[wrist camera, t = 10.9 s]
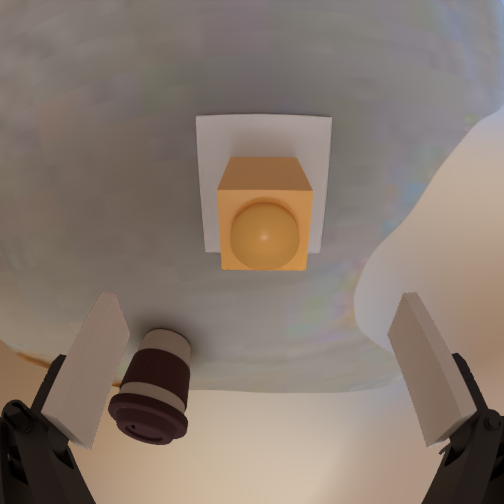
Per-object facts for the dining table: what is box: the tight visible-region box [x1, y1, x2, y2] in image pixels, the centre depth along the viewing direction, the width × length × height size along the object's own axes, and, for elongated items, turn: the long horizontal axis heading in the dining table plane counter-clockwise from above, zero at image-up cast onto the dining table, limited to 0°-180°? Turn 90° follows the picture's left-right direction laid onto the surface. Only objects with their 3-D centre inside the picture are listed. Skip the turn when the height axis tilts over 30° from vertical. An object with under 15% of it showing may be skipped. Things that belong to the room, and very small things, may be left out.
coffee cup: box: [108, 329, 191, 445], centre depth 35 cm, size 10×10×15 cm
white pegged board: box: [196, 114, 332, 253], centre depth 25 cm, size 12×14×7 cm
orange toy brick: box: [217, 157, 313, 271], centre depth 23 cm, size 6×6×10 cm
